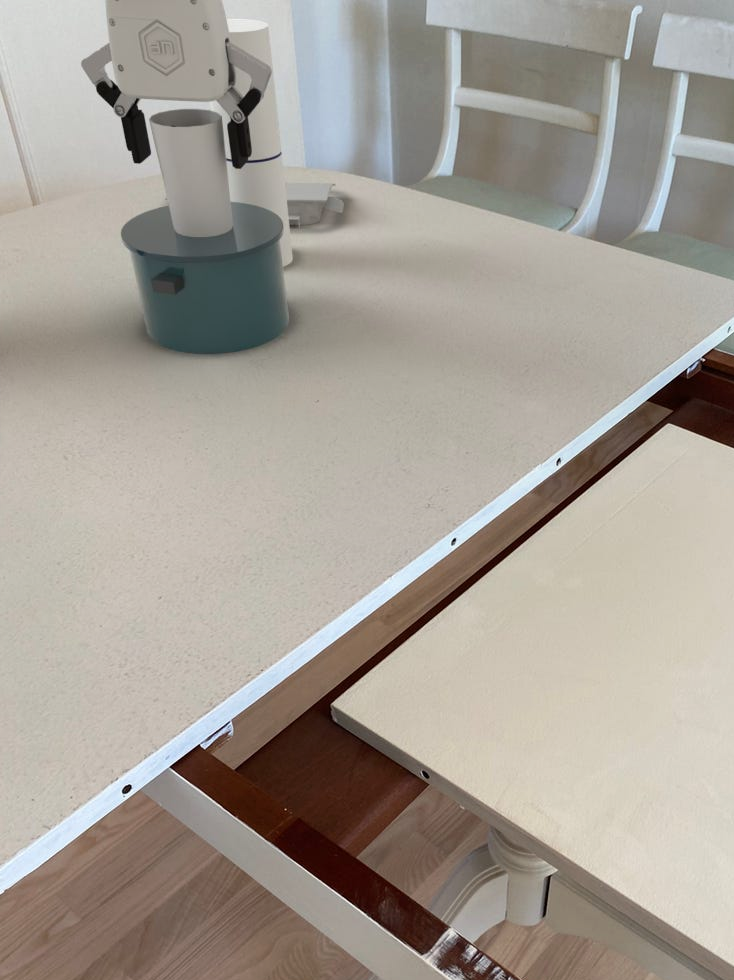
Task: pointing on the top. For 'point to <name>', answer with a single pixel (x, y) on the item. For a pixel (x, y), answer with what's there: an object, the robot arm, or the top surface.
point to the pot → (210, 281)
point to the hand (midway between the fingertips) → (191, 162)
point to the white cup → (194, 170)
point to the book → (309, 202)
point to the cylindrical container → (258, 135)
